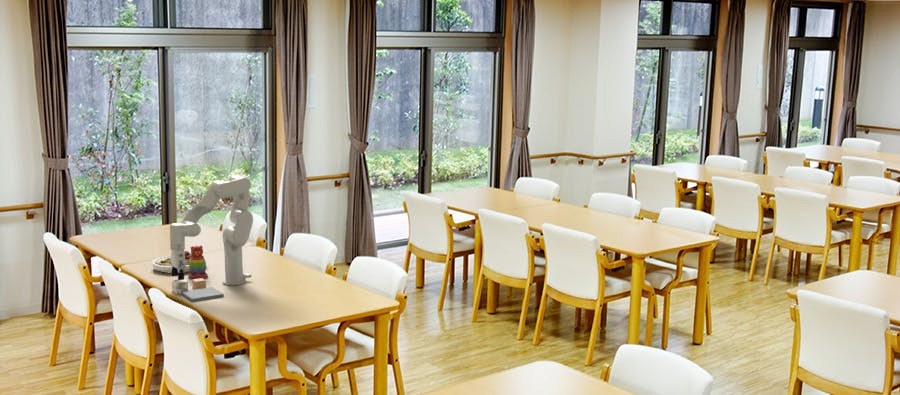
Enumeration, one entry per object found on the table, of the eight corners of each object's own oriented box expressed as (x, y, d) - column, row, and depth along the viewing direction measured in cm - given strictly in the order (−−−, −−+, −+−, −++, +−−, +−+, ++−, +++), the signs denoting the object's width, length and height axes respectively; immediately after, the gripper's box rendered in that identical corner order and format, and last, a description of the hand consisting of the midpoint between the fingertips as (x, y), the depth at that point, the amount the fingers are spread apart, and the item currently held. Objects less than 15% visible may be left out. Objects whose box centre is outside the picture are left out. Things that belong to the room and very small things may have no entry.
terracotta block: (202, 286, 507) (201, 278, 507) (206, 289, 503) (205, 280, 502) (192, 288, 504) (192, 279, 503) (196, 290, 500) (195, 281, 499)
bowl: (197, 275, 533) (197, 262, 531) (145, 274, 533) (145, 261, 532) (211, 262, 562) (211, 250, 561) (162, 262, 563) (161, 249, 561)
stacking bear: (188, 279, 522) (186, 248, 519) (188, 275, 532) (186, 244, 529) (208, 278, 525) (206, 247, 522) (207, 273, 535) (206, 243, 532)
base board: (211, 289, 502) (211, 286, 502) (223, 296, 488) (223, 293, 488) (180, 294, 492) (180, 291, 492) (192, 301, 479) (191, 298, 478)
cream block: (184, 289, 502) (183, 278, 501) (188, 292, 497) (187, 281, 496) (172, 291, 499) (171, 280, 497) (176, 294, 493) (175, 283, 492)
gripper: (190, 248, 488) (190, 280, 491) (179, 242, 502) (179, 273, 505) (176, 250, 484) (176, 282, 487) (165, 244, 498) (165, 275, 501)
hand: (177, 277), depth 496 cm, fingers open, 9 cm apart
